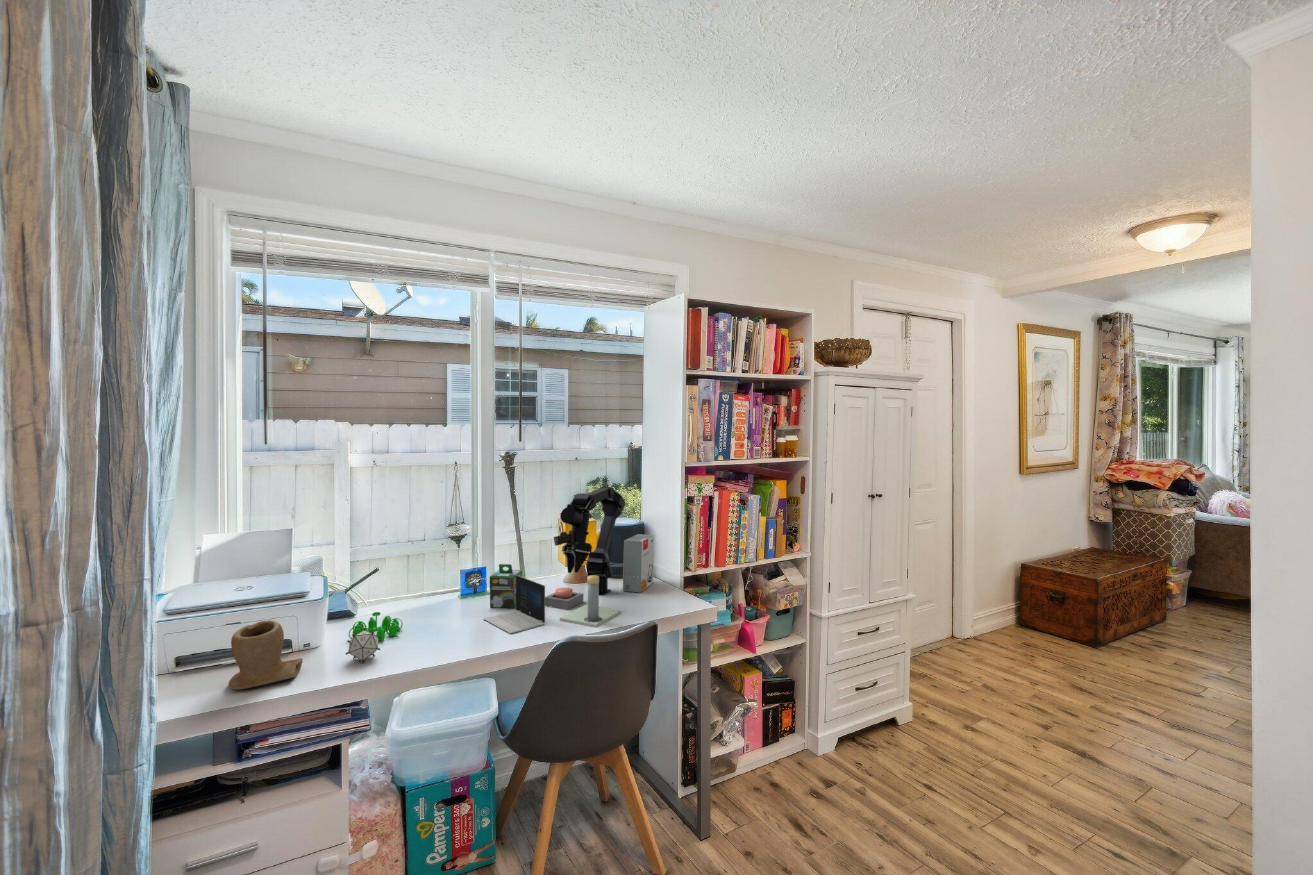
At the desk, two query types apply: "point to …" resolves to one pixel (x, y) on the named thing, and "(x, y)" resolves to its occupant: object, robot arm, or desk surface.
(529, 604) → the laptop
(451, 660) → the desk surface
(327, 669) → the desk surface
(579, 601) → the button housing
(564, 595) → the button
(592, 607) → the marker
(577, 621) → the pale green board
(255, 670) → the stone cup
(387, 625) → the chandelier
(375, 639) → the game die
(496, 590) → the chalk box
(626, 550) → the hard drive box
